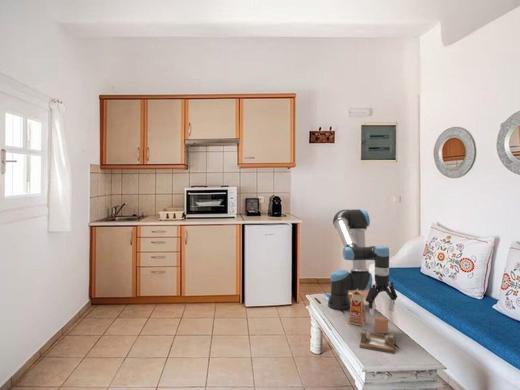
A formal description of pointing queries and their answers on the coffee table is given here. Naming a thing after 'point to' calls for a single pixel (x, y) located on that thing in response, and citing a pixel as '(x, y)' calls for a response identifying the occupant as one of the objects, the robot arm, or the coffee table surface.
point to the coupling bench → (377, 341)
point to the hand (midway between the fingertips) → (381, 312)
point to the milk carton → (357, 309)
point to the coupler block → (381, 324)
